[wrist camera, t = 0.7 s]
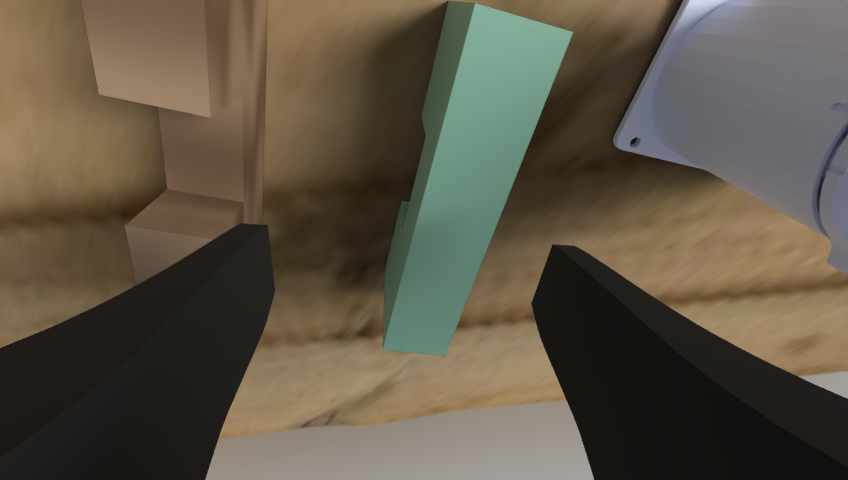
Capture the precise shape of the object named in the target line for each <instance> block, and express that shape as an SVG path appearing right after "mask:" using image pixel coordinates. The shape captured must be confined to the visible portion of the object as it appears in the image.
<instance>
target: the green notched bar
mask: <svg viewBox="0 0 848 480" xmlns="http://www.w3.org/2000/svg"><path fill="white" fill-rule="evenodd" d="M572 34H573V32H571V31H568V30H564V29H561V28H557V27H554V26H551V25H547V24H544V23H540V22H537V21H534V20H530V19H527V18H524V17H520V16H517V15H513V14H510V13H507V12H503V11H500V10H496V9H493V8H490V7H486V6H483V5H480V4H476V3H467V2H457V1H448V5H447V9H446V14H445V18H444V22H443V26H442V31H441V35H440V39H439V43H438V47H437V52H436V56H435V60H434V64H433V69H432V73H431V77H430V81H429V86H428V90H427V94H426V98H425V103H424V107H423V111H422V115H421V118H422V122H423V126H424V130H425V135H426V138H425V142H424V146H423V150H422V154H421V158H420V162H419V166H418V170H417V174H416V178H415V182H414V186H413V190H412V194H411V198H410V202H407V201H401V205H400V209H399V213H398V217H397V221H396V226H395V230H394V234H393V238H392V243H391V247H390V251H389V255H388V260H387V264H386V268H385V285H384V319H383V349H384V350H393V351H402V352H411V353H420V354H428V355H437V356H445V355H446V352H447V350H448V347H449V344H450V342H451V339H452V337H453V334H454V332H455V329H456V327H457V324H458V322H459V319H460V317H461V314H462V312H463V309H464V307H465V304H466V302H467V299H468V296H469V294H470V291H471V289H472V286H473V284H474V281H475V279H476V276H477V274H478V271H479V269H480V266H481V264H482V261H483V259H484V256H485V254H486V251H487V249H488V246H489V243H490V241H491V238H492V236H493V233H494V231H495V228H496V226H497V223H498V221H499V218H500V216H501V213H502V211H503V208H504V206H505V203H506V201H507V198H508V195H509V193H510V190H511V188H512V185H513V183H514V180H515V178H516V175H517V173H518V170H519V168H520V165H521V163H522V160H523V158H524V155H525V153H526V150H527V148H528V145H529V142H530V140H531V137H532V135H533V132H534V130H535V127H536V125H537V122H538V120H539V117H540V115H541V112H542V110H543V107H544V105H545V102H546V100H547V97H548V95H549V92H550V89H551V87H552V84H553V82H554V79H555V77H556V74H557V72H558V69H559V67H560V64H561V62H562V59H563V57H564V54H565V52H566V49H567V47H568V44H569V42H570V39H571V36H572Z"/></svg>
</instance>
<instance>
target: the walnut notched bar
mask: <svg viewBox="0 0 848 480" xmlns="http://www.w3.org/2000/svg"><path fill="white" fill-rule="evenodd" d="M81 4H82V9H83V14H84V19H85V24H86V30H87V35H88V40H89V45H90V50H91V55H92V60H93V66H94V71H95V76H96V81H97V86H98V91H99V95H104V96H109V97H114V98H119V99H123V100H128V101H133V102H138V103H143V104H147V105H152V106H157V107H158V115H159V124H160V132H161V140H162V149H163V157H164V165H165V174H166V182H167V190H166V191H165V192H163V193H162V194H161V195H160V196H159V197H158V198H156V199H155V200H154V201H153V202H152V203H151V204H149V205H148V206H147V207H146V208H145V209H144V210H142V211H141V212H140V213H139V214H138V215H137V216H135V217H134V218H133V219H132V220H131V221H130V222H128V223H127V224H126V225H125V230H126V235H127V240H128V245H129V251H130V256H131V261H132V266H133V271H134V276H135V281H136V285H138V284H140V283H141V282H143V281H145V280H147V279H148V278H150V277H152V276H154V275H156V274H157V273H159V272H161V271H163V270H165V269H166V268H168V267H170V266H171V265H173V264H175V263H176V262H178V261H180V260H181V259H183V258H185V257H186V256H188V255H189V254H191V253H193V252H194V251H196V250H197V249H199V248H201V247H202V246H204V245H206V244H207V243H209V242H210V241H212V240H213V239H215V238H217V237H218V236H220V235H221V234H223V233H225V232H226V231H228V230H230V229H231V228H233V227H235V226H237V225H239V224H240V223H245V224H259V225H262V213H263V171H264V129H265V87H266V45H267V4H268V0H81Z"/></svg>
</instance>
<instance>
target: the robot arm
mask: <svg viewBox="0 0 848 480" xmlns="http://www.w3.org/2000/svg"><path fill="white" fill-rule="evenodd" d="M635 137H636V138H637V139H636V142H635V143H634V144H632V145H630V142H631V140H632V139H633V138H635ZM613 144H614V145H615V147H617V148H619V149H620V150H624V151H628V152H633V153H637V154H641V155H645V156H649V157H653V158H658V159H662V160H666V161H670V162H674V163H679V164H683V165H687V166H691V167H695V168H700V169H704V170H706V171H708V172H710V173H712V174H714V175H715V176H717V177H719V178H721V179H722V180H724V181H726V182H728V183H730V184H731V185H733V186H735V187H737V188H739V189H740V190H742V191H744V192H746V193H748V194H749V195H751V196H753V197H755V198H757V199H758V200H760V201H762V202H764V203H765V204H767V205H769V206H771V207H773V208H774V209H776V210H778V211H780V212H782V213H783V214H785V215H787V216H789V217H791V218H792V219H794V220H796V221H798V222H799V223H801V224H803V225H805V226H807V227H808V228H810V229H812V230H814V231H816V232H817V233H819V234H821V235H823V236H825V237H826V238H828V239H830V240H831V252H830V254H829V257H828V259H827V263H828V264H830V265H832V266H833V267H835V268H837V269H838V270H840V271H841V272H843V273H845V274H846V275H848V0H683V2H682V4H681V6H680V8H679V10H678V12H677V14H676V16H675V18H674V20H673V22H672V23H671V25H670V27H669V29H668V31H667V33H666V35H665V37H664V39H663V41H662V43H661V45H660V47H659V49H658V51H657V53H656V55H655V57H654V59H653V61H652V63H651V65H650V67H649V69H648V71H647V72H646V74H645V76H644V78H643V80H642V82H641V84H640V86H639V88H638V90H637V92H636V94H635V96H634V98H633V100H632V102H631V104H630V106H629V108H628V110H627V112H626V114H625V116H624V118H623V120H622V121H621V123H620V125H619V127H618V129H617V131H616V133H615V135H614V138H613ZM274 292H275V287H274V279H273V270H272V261H271V252H270V243H269V234H268V225H259V224H245V223H240V224H239V225H237V226H235V227H233V228H231V229H230V230H228V231H226V232H225V233H223V234H221V235H220V236H218V237H217V238H215V239H213V240H212V241H210V242H209V243H207V244H206V245H204V246H202V247H201V248H199V249H197V250H196V251H194V252H193V253H191V254H189V255H188V256H186V257H185V258H183V259H181V260H180V261H178V262H176V263H175V264H173V265H171V266H170V267H168V268H166V269H165V270H163V271H161V272H159V273H157V274H156V275H154V276H152V277H150V278H148V279H147V280H145V281H143V282H141V283H140V284H138V285H136V286H134V287H132V288H131V289H129V290H127V291H125V292H124V293H122V294H120V295H118V296H116V297H114V298H112V299H110V300H108V301H106V302H104V303H102V304H100V305H98V306H96V307H94V308H92V309H90V310H88V311H85V312H83V313H81V314H79V315H77V316H75V317H73V318H70V319H68V320H66V321H64V322H62V323H60V324H57V325H55V326H53V327H51V328H48V329H46V330H44V331H41V332H39V333H36V334H34V335H32V336H29V337H27V338H24V339H22V340H19V341H17V342H14V343H12V344H9V345H7V346H5V347H2V348H0V480H205V478H206V475H207V472H208V469H209V465H210V463H211V459H212V456H213V453H214V450H215V447H216V444H217V441H218V438H219V435H220V432H221V429H222V427H223V424H224V421H225V419H226V416H227V414H228V411H229V409H230V406H231V404H232V402H233V400H234V397H235V395H236V393H237V390H238V388H239V386H240V383H241V381H242V379H243V377H244V374H245V372H246V370H247V367H248V365H249V363H250V361H251V358H252V356H253V354H254V351H255V349H256V347H257V344H258V342H259V340H260V337H261V335H262V333H263V330H264V328H265V325H266V321H267V318H268V315H269V311H270V308H271V304H272V300H273V296H274ZM531 304H532V308H533V312H534V316H535V320H536V324H537V327H538V331H539V335H540V338H541V340H542V343H543V345H544V348H545V350H546V353H547V355H548V357H549V360H550V362H551V365H552V367H553V369H554V372H555V374H556V376H557V379H558V381H559V383H560V386H561V388H562V390H563V393H564V395H565V397H566V400H567V402H568V404H569V407H570V409H571V411H572V414H573V416H574V419H575V422H576V424H577V427H578V429H579V432H580V435H581V438H582V441H583V444H584V448H585V451H586V454H587V457H588V461H589V464H590V467H591V470H592V473H593V477H594V480H848V399H847V398H844V397H842V396H840V395H838V394H835V393H833V392H831V391H828V390H826V389H824V388H821V387H819V386H817V385H814V384H812V383H810V382H808V381H806V380H804V379H802V378H800V377H798V376H795V375H793V374H791V373H789V372H787V371H785V370H783V369H781V368H778V367H776V366H774V365H772V364H770V363H768V362H766V361H764V360H762V359H760V358H758V357H756V356H754V355H752V354H750V353H748V352H746V351H744V350H742V349H741V348H739V347H737V346H735V345H733V344H731V343H729V342H728V341H726V340H724V339H722V338H720V337H718V336H717V335H715V334H713V333H711V332H709V331H708V330H706V329H704V328H702V327H701V326H699V325H697V324H695V323H694V322H692V321H691V320H689V319H687V318H686V317H684V316H682V315H681V314H679V313H678V312H676V311H674V310H673V309H671V308H669V307H668V306H666V305H665V304H663V303H662V302H660V301H658V300H657V299H655V298H654V297H652V296H651V295H649V294H648V293H646V292H645V291H643V290H642V289H640V288H639V287H637V286H636V285H634V284H633V283H631V282H630V281H628V280H627V279H625V278H624V277H623V276H621V275H620V274H618V273H617V272H615V271H614V270H612V269H611V268H609V267H608V266H606V265H605V264H603V263H602V262H600V261H599V260H597V259H596V258H594V257H593V256H591V255H590V254H588V253H586V252H585V251H583V250H581V249H579V248H577V247H575V246H567V245H552V248H551V250H550V253H549V256H548V259H547V262H546V264H545V267H544V270H543V273H542V275H541V278H540V281H539V284H538V287H537V289H536V292H535V295H534V298H533V300H532V303H531Z"/></svg>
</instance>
